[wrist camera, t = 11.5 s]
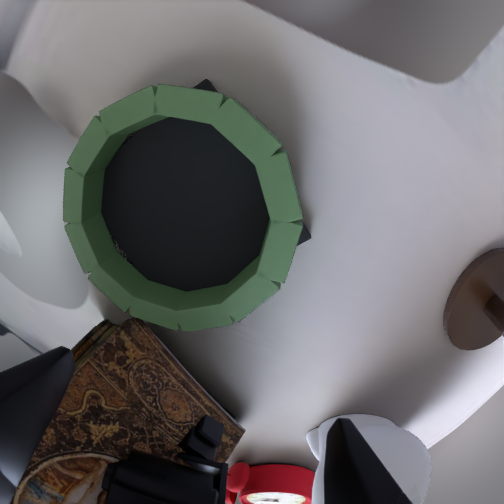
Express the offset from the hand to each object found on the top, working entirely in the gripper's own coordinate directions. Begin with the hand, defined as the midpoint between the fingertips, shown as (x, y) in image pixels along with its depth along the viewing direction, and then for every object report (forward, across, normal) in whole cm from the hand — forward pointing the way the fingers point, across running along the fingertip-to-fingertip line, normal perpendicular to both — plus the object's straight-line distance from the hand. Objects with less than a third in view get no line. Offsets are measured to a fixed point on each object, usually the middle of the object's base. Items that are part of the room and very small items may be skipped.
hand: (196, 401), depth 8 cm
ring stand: (+11, -20, -1) cm, 23 cm away
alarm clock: (+13, -9, +30) cm, 34 cm away
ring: (+11, +4, -2) cm, 12 cm away
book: (+12, +3, +13) cm, 17 cm away
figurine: (+12, -16, +16) cm, 25 cm away
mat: (+12, +4, -3) cm, 12 cm away
